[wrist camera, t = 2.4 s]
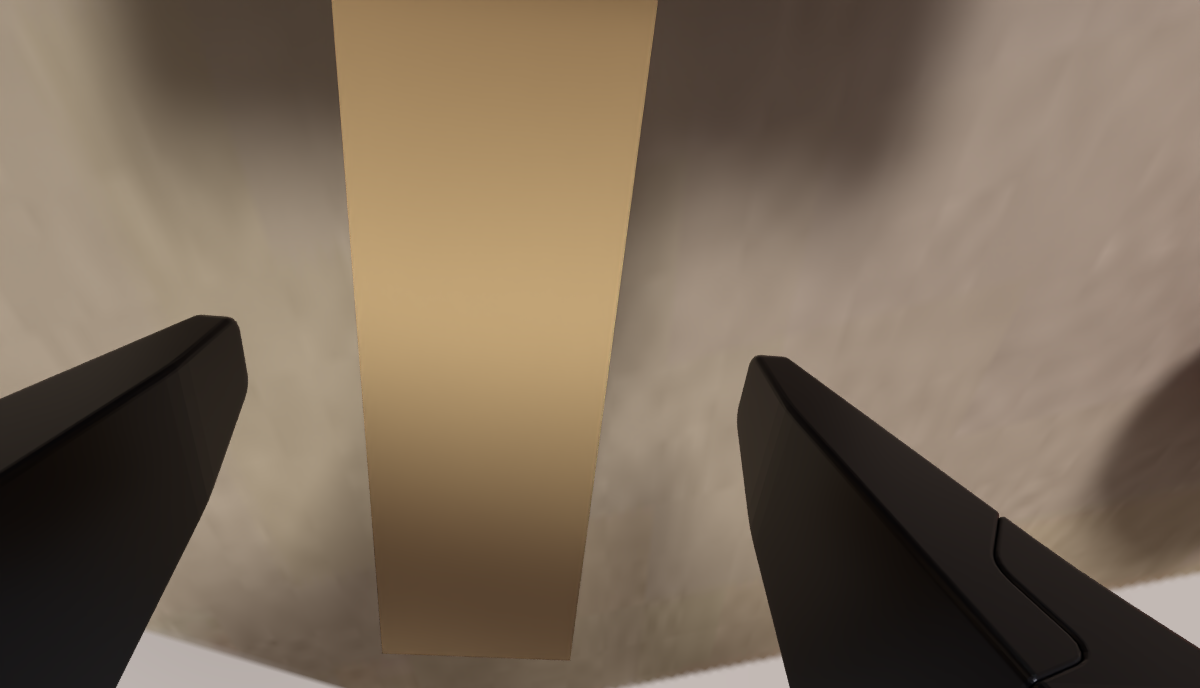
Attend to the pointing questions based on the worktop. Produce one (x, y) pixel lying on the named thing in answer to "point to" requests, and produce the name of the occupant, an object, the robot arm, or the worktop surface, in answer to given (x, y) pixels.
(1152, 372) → the worktop surface
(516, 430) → the tan rectangular bar
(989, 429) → the worktop surface
